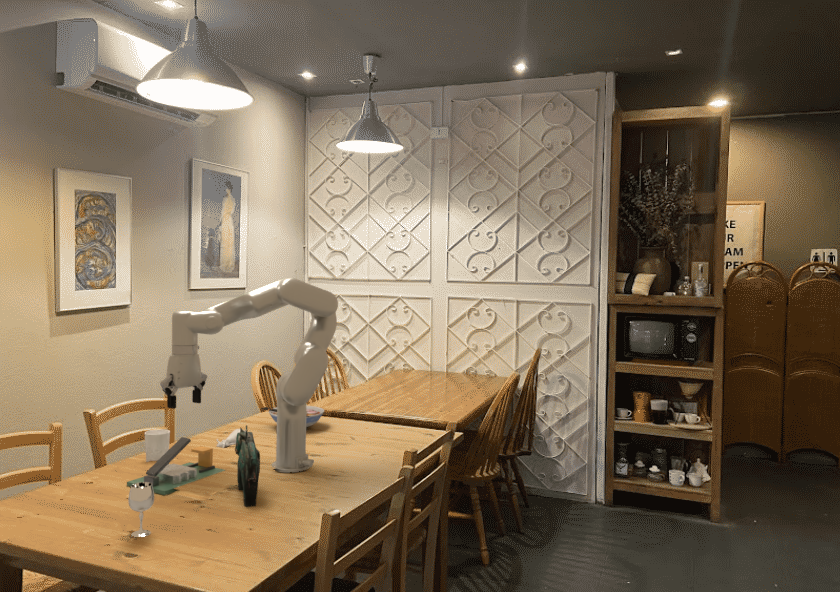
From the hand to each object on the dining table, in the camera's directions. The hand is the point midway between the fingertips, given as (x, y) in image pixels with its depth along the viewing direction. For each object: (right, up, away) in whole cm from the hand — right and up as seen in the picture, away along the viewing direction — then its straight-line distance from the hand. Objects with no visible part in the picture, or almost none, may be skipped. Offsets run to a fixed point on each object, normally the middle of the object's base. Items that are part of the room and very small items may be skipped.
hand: (184, 405), depth 201 cm
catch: (+3, -21, +6) cm, 22 cm away
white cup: (-15, -22, +16) cm, 31 cm away
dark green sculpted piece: (+24, -24, -15) cm, 37 cm away
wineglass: (+5, -24, -44) cm, 50 cm away
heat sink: (-3, -21, -6) cm, 22 cm away
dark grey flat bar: (-2, -15, -6) cm, 16 cm away
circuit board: (-1, -22, -2) cm, 22 cm away
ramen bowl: (+22, -21, +68) cm, 75 cm away
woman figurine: (+2, -22, +41) cm, 47 cm away
